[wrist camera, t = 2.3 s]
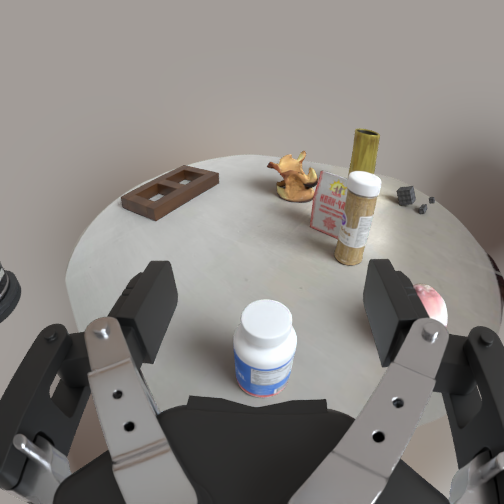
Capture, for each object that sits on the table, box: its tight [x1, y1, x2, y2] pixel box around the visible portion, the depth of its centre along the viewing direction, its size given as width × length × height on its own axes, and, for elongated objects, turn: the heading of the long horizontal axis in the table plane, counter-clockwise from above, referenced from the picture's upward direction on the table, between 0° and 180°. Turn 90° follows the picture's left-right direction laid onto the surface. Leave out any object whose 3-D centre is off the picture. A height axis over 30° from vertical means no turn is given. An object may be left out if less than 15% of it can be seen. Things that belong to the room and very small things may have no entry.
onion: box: [413, 284, 448, 327], centre depth 30 cm, size 8×8×7 cm
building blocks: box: [397, 186, 435, 214], centre depth 57 cm, size 3×6×8 cm
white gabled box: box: [310, 170, 348, 239], centre depth 48 cm, size 4×7×10 cm, turn 50°
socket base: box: [121, 165, 219, 221], centre depth 61 cm, size 11×19×2 cm, turn 148°
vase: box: [348, 129, 380, 176], centre depth 59 cm, size 6×6×14 cm
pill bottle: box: [233, 299, 297, 398], centre depth 26 cm, size 6×5×10 cm
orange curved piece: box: [267, 151, 318, 202], centre depth 59 cm, size 12×10×8 cm
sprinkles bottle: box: [334, 171, 381, 265], centre depth 41 cm, size 5×5×13 cm
